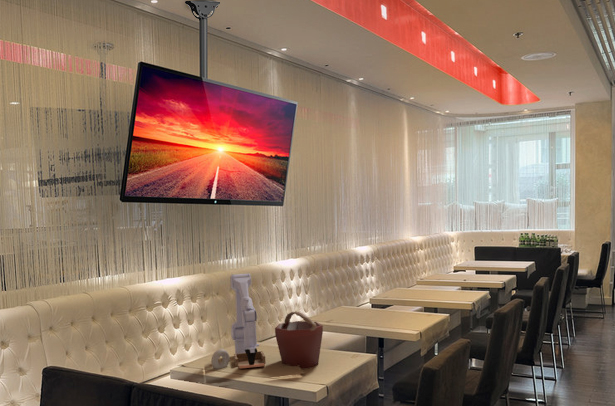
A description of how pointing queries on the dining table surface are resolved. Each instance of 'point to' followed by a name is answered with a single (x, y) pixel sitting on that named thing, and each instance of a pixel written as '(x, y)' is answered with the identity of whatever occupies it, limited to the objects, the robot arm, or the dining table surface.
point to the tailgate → (251, 365)
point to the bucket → (299, 341)
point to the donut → (216, 359)
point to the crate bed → (243, 359)
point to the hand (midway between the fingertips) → (251, 364)
